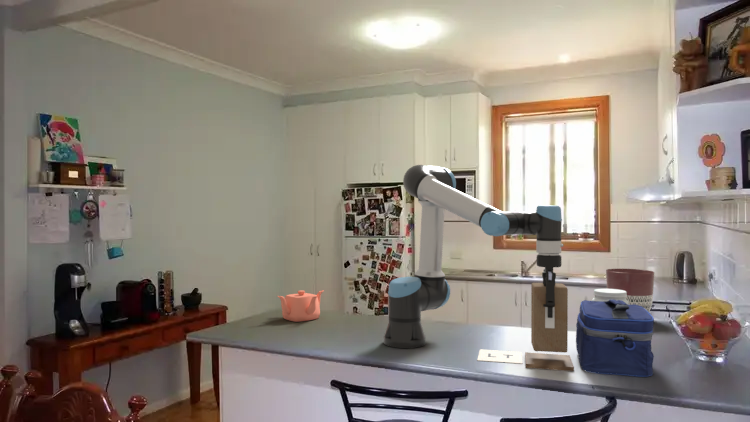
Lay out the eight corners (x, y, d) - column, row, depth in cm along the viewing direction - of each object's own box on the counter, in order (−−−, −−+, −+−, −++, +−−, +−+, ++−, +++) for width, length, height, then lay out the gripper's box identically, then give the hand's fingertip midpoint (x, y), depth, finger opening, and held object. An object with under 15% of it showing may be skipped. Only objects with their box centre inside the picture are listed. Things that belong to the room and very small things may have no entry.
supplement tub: (594, 334, 215) (594, 287, 215) (630, 338, 208) (630, 289, 208) (588, 341, 203) (589, 291, 203) (626, 345, 197) (627, 294, 197)
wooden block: (567, 353, 168) (567, 287, 168) (533, 351, 170) (533, 286, 170) (563, 345, 178) (563, 283, 178) (531, 343, 180) (531, 282, 180)
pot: (316, 323, 233) (317, 294, 233) (276, 322, 234) (276, 293, 234) (324, 315, 251) (324, 288, 251) (286, 314, 252) (286, 287, 252)
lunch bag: (661, 382, 155) (662, 310, 155) (582, 376, 161) (582, 306, 161) (639, 354, 185) (639, 293, 185) (573, 350, 191) (573, 291, 191)
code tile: (477, 360, 177) (477, 359, 177) (480, 349, 190) (480, 349, 190) (522, 363, 173) (522, 363, 173) (521, 352, 187) (521, 352, 187)
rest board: (525, 367, 169) (525, 363, 169) (525, 355, 183) (525, 352, 183) (574, 371, 166) (574, 367, 166) (569, 358, 179) (569, 355, 179)
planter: (658, 324, 232) (658, 274, 232) (608, 322, 238) (608, 272, 238) (649, 316, 251) (649, 269, 251) (603, 313, 257) (603, 267, 256)
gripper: (564, 257, 162) (564, 332, 162) (558, 251, 184) (558, 318, 184) (537, 256, 164) (537, 331, 164) (535, 251, 186) (535, 317, 186)
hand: (548, 324), depth 174 cm, fingers closed on wooden block, 10 cm apart
